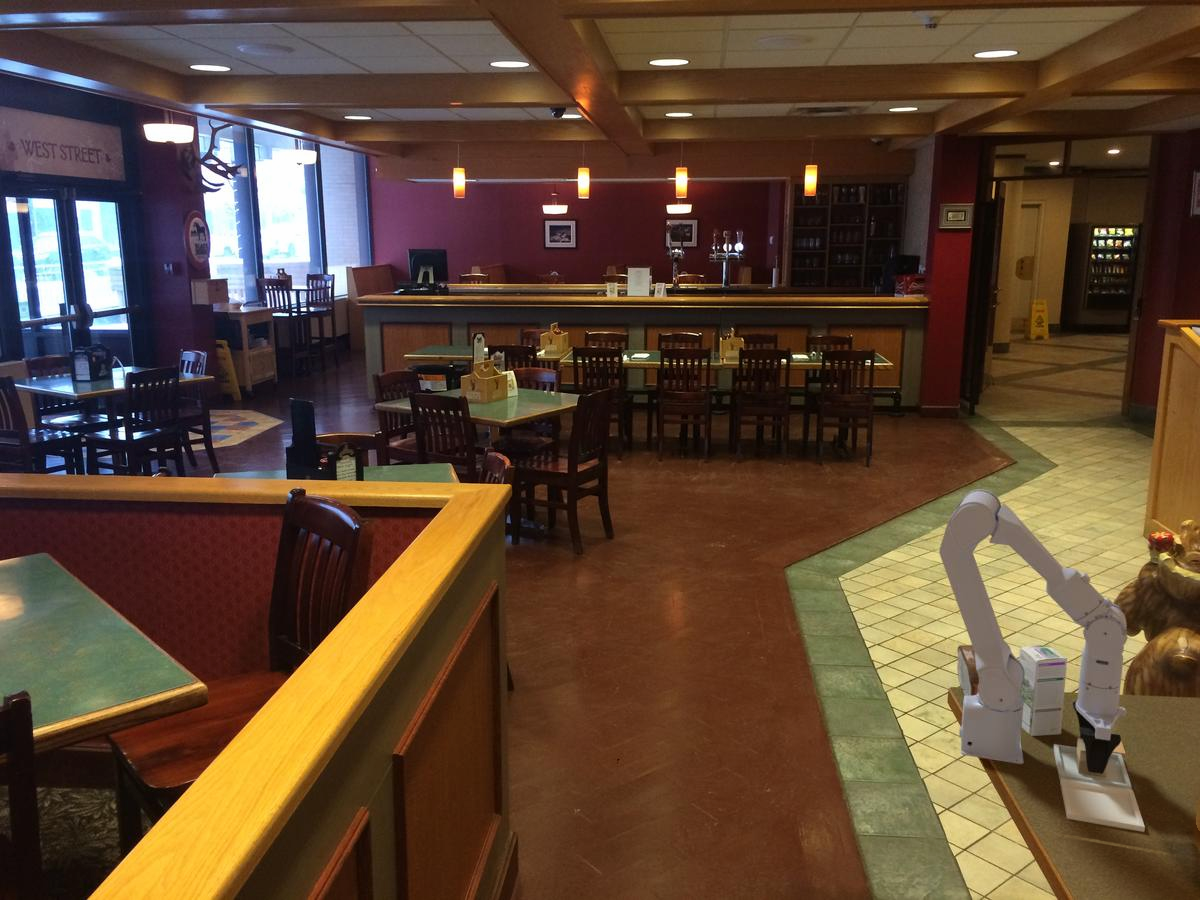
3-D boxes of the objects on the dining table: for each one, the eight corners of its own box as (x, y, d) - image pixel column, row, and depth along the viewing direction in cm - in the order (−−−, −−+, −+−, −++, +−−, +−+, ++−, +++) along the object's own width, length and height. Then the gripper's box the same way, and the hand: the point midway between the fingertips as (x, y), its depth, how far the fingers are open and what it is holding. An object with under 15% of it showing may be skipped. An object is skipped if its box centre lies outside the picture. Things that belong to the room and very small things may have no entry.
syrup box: (1062, 736, 162) (1069, 657, 159) (1029, 738, 162) (1036, 659, 159) (1043, 720, 168) (1050, 644, 165) (1012, 722, 167) (1018, 645, 164)
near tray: (1066, 820, 138) (1067, 813, 138) (1059, 785, 148) (1060, 778, 147) (1143, 834, 135) (1144, 826, 135) (1132, 796, 144) (1132, 789, 144)
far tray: (1059, 781, 148) (1059, 774, 148) (1053, 750, 158) (1053, 743, 157) (1130, 793, 145) (1131, 786, 145) (1120, 760, 154) (1121, 754, 154)
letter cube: (1078, 773, 150) (1080, 749, 149) (1075, 760, 154) (1077, 737, 153) (1106, 777, 149) (1109, 753, 148) (1102, 764, 152) (1105, 741, 152)
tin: (985, 714, 170) (988, 671, 168) (966, 713, 171) (970, 670, 169) (970, 678, 185) (973, 638, 183) (953, 677, 185) (956, 636, 183)
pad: (1084, 749, 158) (1085, 747, 158) (1080, 732, 163) (1080, 730, 163) (1125, 755, 156) (1125, 753, 156) (1119, 738, 161) (1119, 736, 161)
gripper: (1136, 705, 140) (1127, 787, 143) (1121, 665, 153) (1113, 741, 156) (1084, 698, 142) (1076, 779, 145) (1073, 659, 156) (1066, 734, 159)
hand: (1092, 759), depth 151 cm, fingers open, 7 cm apart
